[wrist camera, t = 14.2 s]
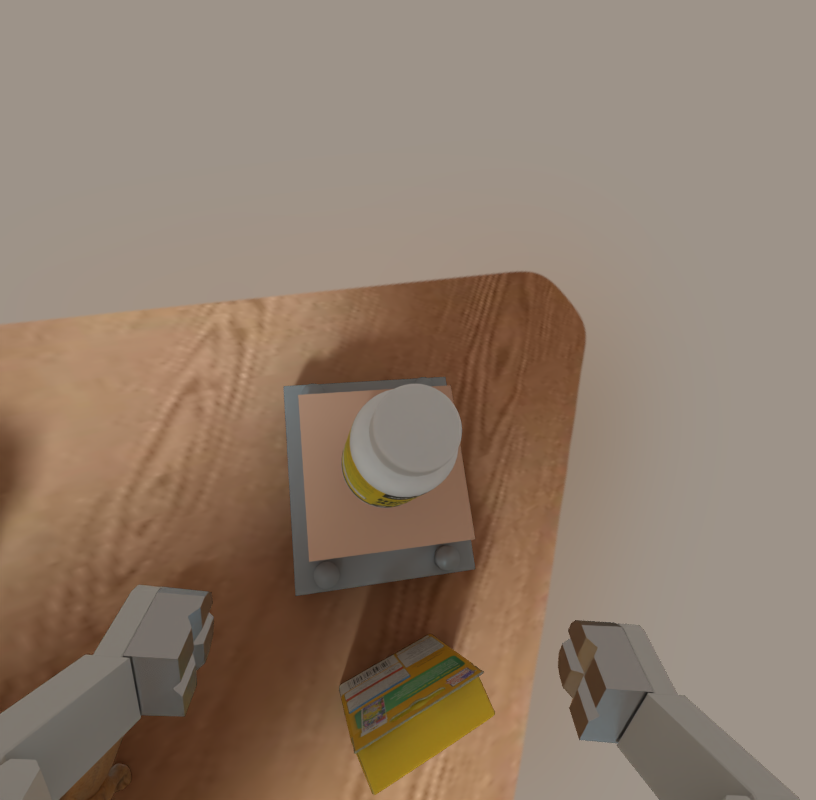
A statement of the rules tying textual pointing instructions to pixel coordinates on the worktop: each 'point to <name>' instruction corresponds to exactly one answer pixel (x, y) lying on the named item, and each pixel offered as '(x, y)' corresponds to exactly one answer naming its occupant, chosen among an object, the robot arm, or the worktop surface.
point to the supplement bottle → (401, 445)
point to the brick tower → (352, 518)
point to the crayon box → (412, 709)
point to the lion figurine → (101, 779)
